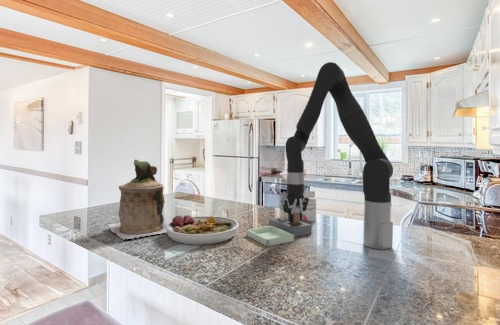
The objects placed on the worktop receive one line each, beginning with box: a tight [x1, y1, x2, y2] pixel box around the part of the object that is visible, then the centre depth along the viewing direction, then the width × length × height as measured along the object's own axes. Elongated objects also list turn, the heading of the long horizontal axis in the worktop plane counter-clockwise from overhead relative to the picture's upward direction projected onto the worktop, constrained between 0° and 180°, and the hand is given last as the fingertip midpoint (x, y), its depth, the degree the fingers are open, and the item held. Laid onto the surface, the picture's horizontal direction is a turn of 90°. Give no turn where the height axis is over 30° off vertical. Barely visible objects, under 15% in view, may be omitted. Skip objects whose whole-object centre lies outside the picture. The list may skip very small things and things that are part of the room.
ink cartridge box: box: [302, 190, 317, 222], centre depth 152 cm, size 9×5×15 cm, turn 84°
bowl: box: [166, 214, 239, 246], centre depth 126 cm, size 30×30×8 cm
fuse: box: [279, 203, 288, 222], centre depth 136 cm, size 4×4×11 cm
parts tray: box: [245, 225, 296, 248], centre depth 122 cm, size 16×13×2 cm
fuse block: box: [268, 216, 313, 238], centre depth 133 cm, size 18×10×4 cm, turn 30°
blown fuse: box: [291, 206, 300, 226], centre depth 129 cm, size 4×4×11 cm
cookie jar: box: [107, 159, 170, 241], centre depth 133 cm, size 25×25×32 cm
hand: (295, 221), depth 130 cm, fingers closed on blown fuse, 4 cm apart
